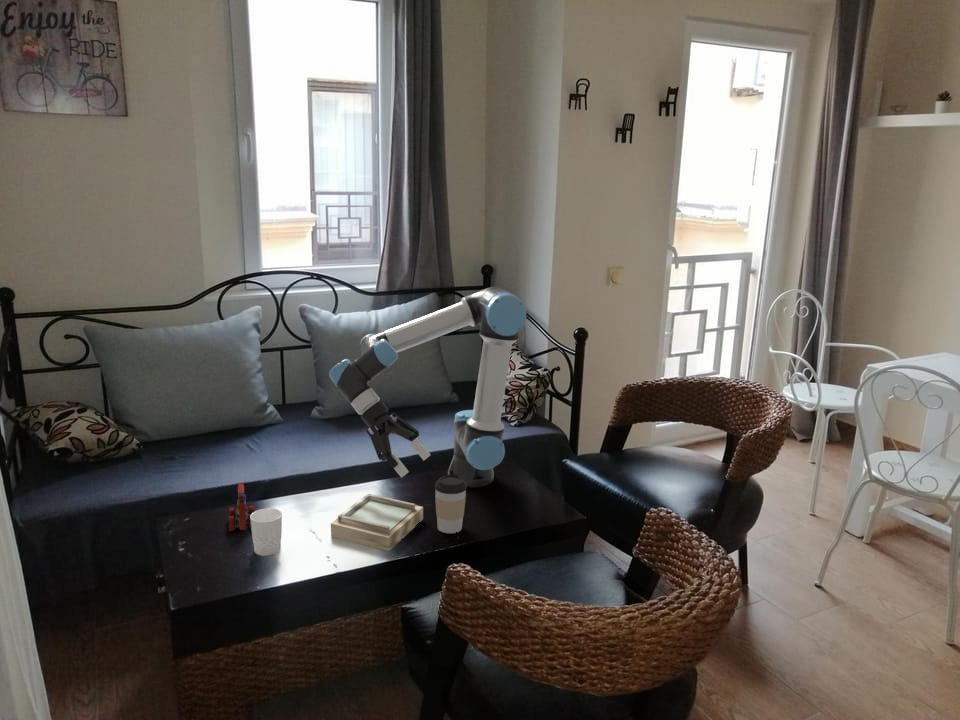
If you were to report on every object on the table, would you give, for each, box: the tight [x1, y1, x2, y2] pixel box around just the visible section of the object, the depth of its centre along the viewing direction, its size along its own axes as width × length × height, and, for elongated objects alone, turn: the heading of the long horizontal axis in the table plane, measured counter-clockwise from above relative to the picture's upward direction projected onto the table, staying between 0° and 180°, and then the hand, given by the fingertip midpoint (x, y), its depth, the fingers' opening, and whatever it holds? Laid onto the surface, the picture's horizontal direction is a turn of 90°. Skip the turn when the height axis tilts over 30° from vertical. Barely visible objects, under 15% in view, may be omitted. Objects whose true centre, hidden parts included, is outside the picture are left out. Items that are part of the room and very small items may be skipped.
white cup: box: [250, 507, 283, 557], centre depth 188 cm, size 8×8×10 cm
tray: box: [330, 493, 424, 552], centre depth 202 cm, size 20×18×6 cm
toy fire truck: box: [228, 483, 256, 532], centre depth 201 cm, size 7×12×10 cm, turn 18°
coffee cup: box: [434, 474, 468, 534], centre depth 203 cm, size 9×9×15 cm
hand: (416, 466), depth 204 cm, fingers open, 13 cm apart
